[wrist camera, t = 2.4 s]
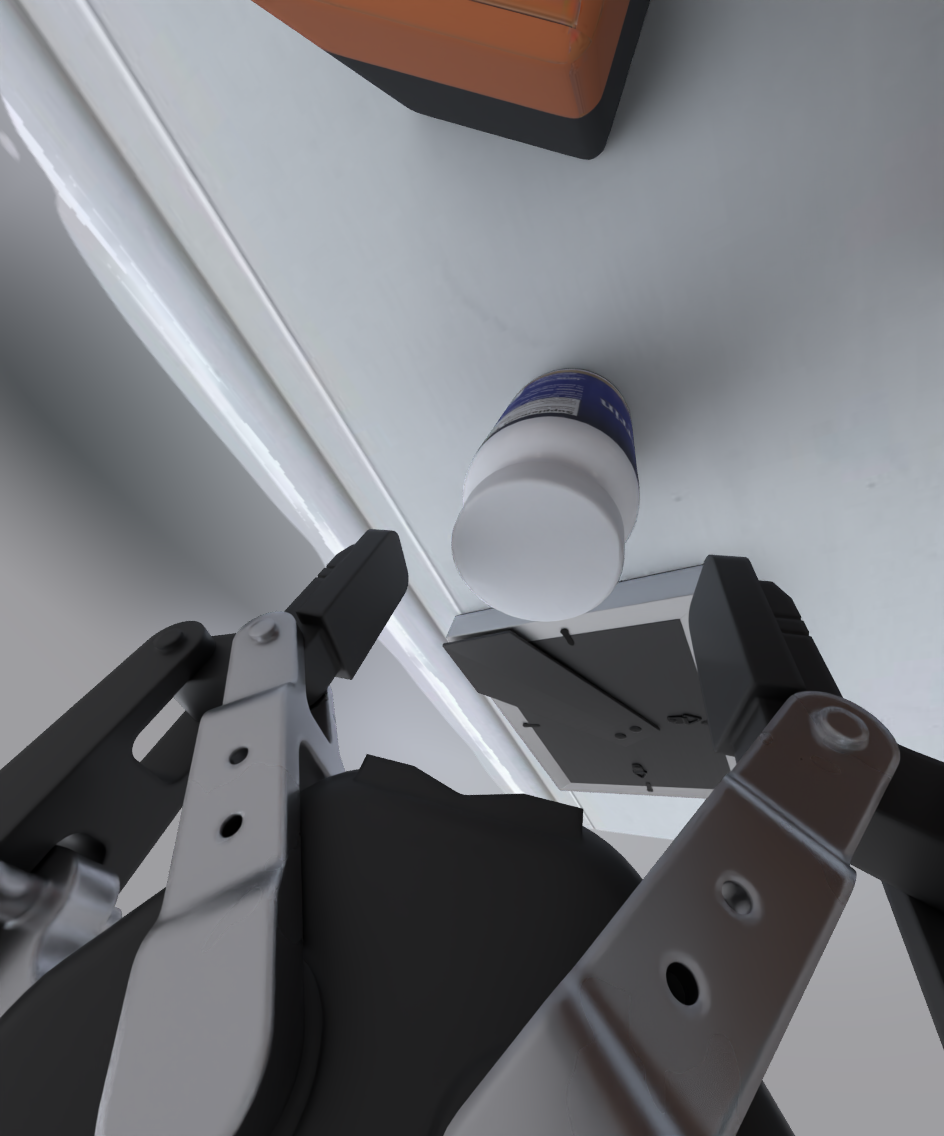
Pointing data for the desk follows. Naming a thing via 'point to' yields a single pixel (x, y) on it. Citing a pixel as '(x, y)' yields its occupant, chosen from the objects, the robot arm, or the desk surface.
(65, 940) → the robot arm
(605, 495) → the pill bottle
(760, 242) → the desk surface
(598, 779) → the picture frame
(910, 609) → the desk surface
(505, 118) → the battery
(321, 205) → the desk surface
